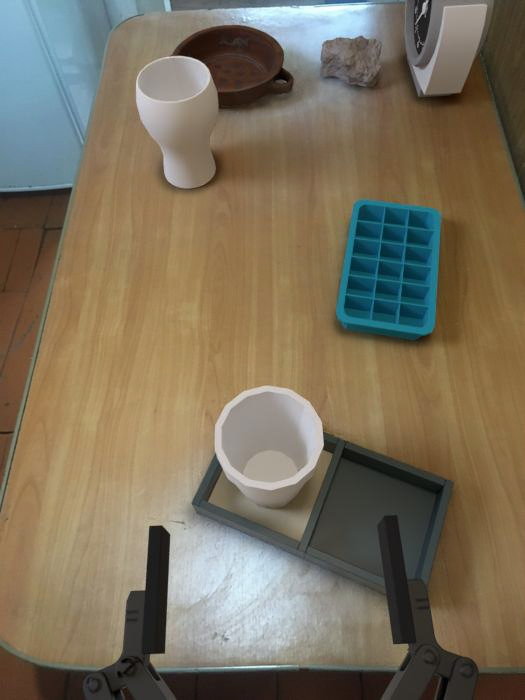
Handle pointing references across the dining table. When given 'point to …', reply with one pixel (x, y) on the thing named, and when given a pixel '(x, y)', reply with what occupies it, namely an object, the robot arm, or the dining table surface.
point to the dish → (239, 62)
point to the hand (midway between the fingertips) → (273, 524)
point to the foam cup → (269, 444)
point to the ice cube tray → (390, 270)
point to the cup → (180, 116)
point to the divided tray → (341, 512)
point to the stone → (352, 60)
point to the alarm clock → (444, 42)
